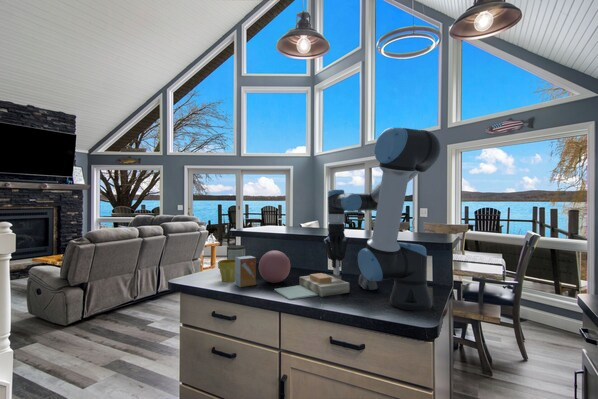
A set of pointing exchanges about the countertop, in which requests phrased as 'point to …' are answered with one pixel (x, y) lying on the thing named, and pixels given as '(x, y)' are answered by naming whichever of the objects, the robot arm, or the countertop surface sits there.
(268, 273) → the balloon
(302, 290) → the mat
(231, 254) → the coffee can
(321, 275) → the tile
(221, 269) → the plant pot
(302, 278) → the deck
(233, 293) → the countertop surface
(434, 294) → the countertop surface
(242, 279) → the small box
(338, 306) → the countertop surface
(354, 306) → the countertop surface
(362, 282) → the mineral rock
